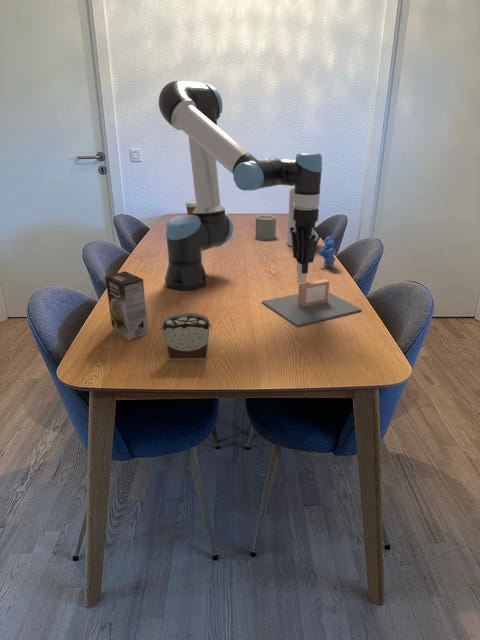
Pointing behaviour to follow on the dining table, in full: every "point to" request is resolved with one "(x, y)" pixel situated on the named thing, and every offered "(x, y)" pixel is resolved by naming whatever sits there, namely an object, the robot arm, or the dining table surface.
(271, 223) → the coffee mug
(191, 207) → the disposable coffee cup
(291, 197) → the cylinder vase
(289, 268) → the dining table surface
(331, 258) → the blue lumpy piece
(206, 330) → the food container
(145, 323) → the coffee box
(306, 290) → the pink picture frame
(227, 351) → the dining table surface
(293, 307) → the mat
